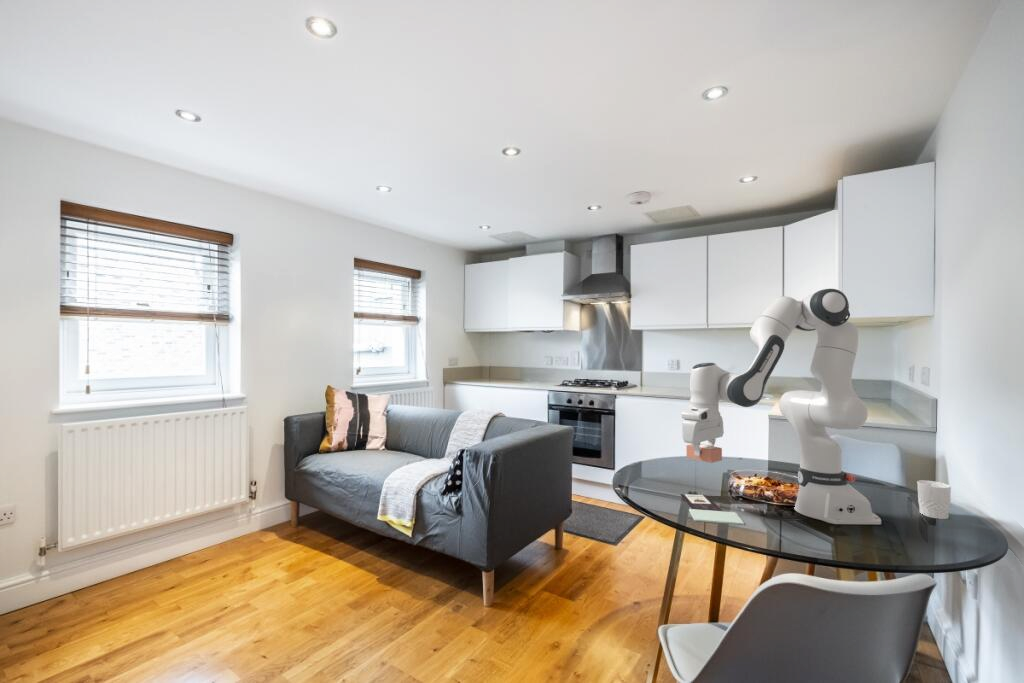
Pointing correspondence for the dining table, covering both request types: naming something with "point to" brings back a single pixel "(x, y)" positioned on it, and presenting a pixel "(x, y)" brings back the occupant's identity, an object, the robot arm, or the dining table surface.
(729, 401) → the robot arm
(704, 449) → the deck
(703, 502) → the chocolate bar
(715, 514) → the mat
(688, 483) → the dining table surface
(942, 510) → the white cup
